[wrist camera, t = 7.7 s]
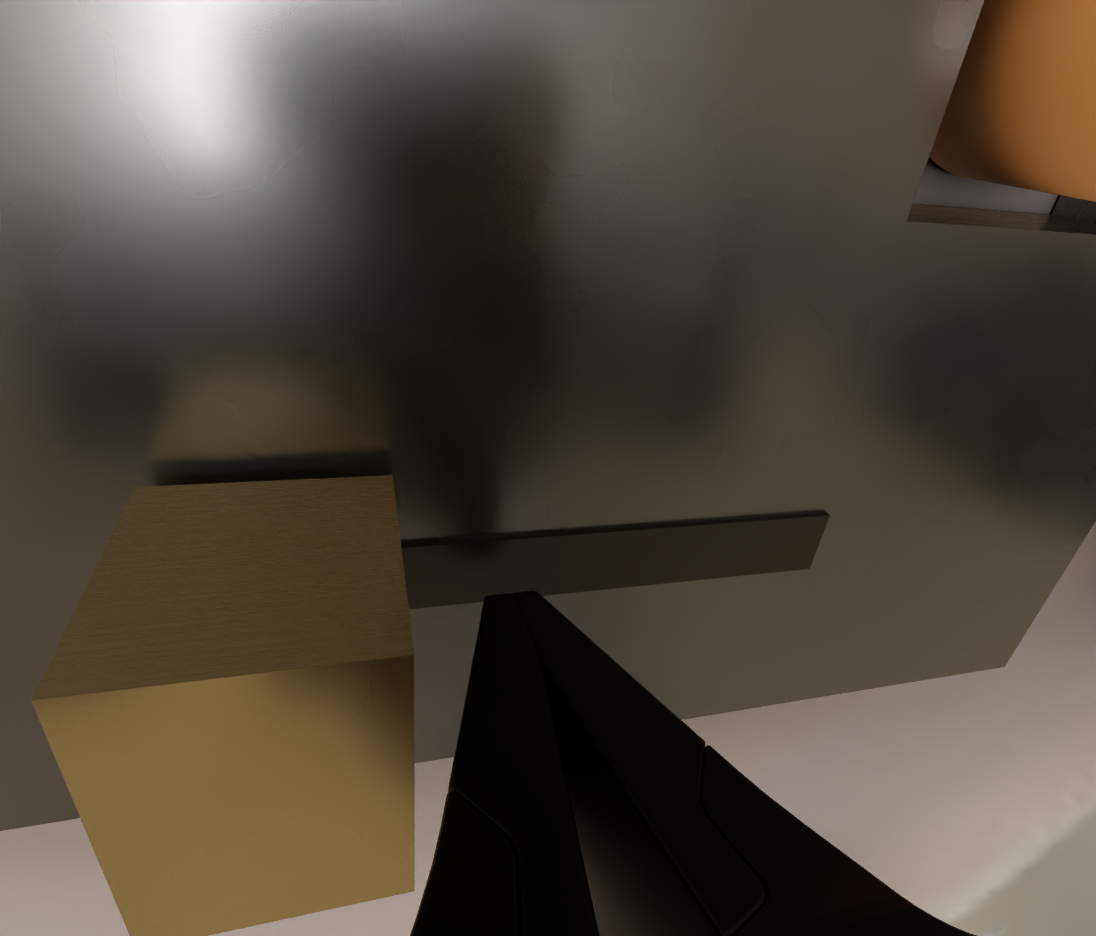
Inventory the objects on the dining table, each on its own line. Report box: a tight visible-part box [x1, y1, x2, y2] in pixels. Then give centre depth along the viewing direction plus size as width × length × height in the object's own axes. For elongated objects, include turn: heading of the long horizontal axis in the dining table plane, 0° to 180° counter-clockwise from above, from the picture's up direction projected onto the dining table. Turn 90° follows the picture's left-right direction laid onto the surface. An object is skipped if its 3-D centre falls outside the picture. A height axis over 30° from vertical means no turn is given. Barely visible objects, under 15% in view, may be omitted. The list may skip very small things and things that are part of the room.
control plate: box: [0, 0, 1096, 831], centre depth 10 cm, size 22×17×2 cm
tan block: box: [31, 475, 414, 936], centre depth 8 cm, size 3×4×3 cm
